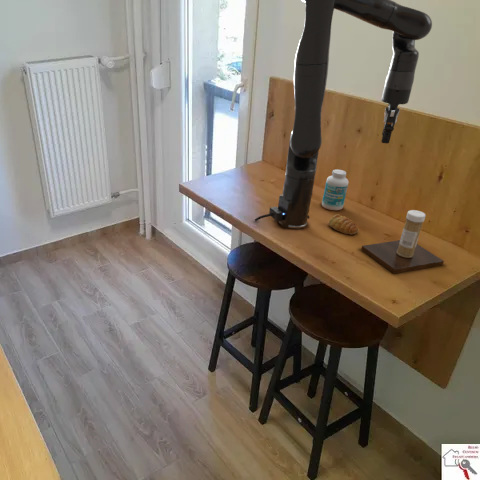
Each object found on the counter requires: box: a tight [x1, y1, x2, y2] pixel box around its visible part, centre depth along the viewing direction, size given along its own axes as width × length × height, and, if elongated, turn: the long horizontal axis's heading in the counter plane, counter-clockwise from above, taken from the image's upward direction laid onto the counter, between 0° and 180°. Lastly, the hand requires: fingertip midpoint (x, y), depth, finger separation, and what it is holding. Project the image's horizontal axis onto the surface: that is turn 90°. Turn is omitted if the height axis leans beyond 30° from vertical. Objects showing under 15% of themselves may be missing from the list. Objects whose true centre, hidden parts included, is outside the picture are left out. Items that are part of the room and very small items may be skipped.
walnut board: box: [360, 239, 445, 275], centre depth 139 cm, size 17×14×2 cm
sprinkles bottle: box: [397, 209, 426, 258], centre depth 134 cm, size 5×5×14 cm
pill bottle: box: [321, 169, 350, 211], centre depth 168 cm, size 8×7×14 cm
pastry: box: [328, 214, 359, 235], centre depth 154 cm, size 9×7×4 cm
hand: (385, 139), depth 149 cm, fingers open, 8 cm apart
